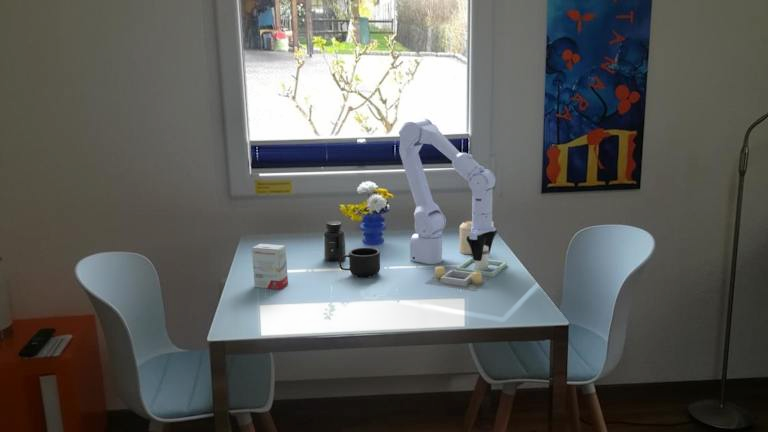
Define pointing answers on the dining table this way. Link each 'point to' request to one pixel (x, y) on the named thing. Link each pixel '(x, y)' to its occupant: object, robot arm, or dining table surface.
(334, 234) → the supplement bottle
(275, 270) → the ink box
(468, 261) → the parts tray
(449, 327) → the dining table surface
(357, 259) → the mug
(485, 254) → the cylinder
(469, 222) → the candle
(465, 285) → the fuse panel
